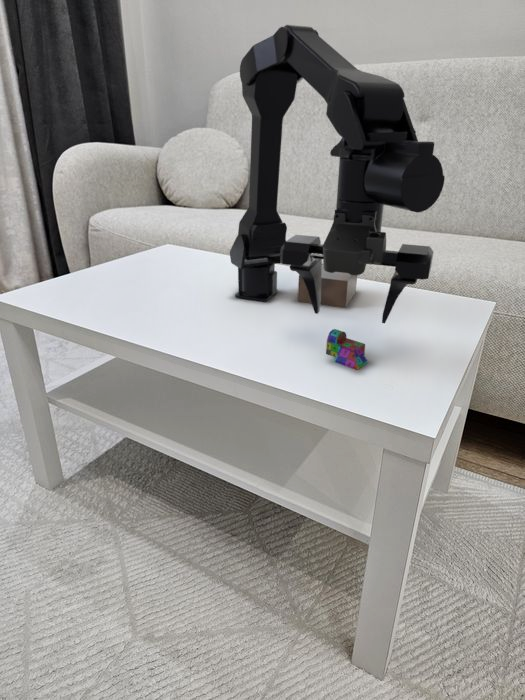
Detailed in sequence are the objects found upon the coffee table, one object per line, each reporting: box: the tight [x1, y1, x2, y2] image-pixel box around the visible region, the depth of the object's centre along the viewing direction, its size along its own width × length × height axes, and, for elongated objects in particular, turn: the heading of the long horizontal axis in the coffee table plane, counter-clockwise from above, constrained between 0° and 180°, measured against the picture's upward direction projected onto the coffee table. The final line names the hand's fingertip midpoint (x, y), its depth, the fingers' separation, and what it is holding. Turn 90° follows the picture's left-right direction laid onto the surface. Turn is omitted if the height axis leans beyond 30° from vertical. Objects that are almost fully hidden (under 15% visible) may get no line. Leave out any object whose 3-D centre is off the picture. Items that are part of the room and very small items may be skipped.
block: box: [325, 328, 369, 371], centre depth 67 cm, size 6×4×3 cm
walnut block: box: [297, 263, 358, 309], centre depth 89 cm, size 9×9×5 cm
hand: (349, 317), depth 65 cm, fingers open, 9 cm apart
